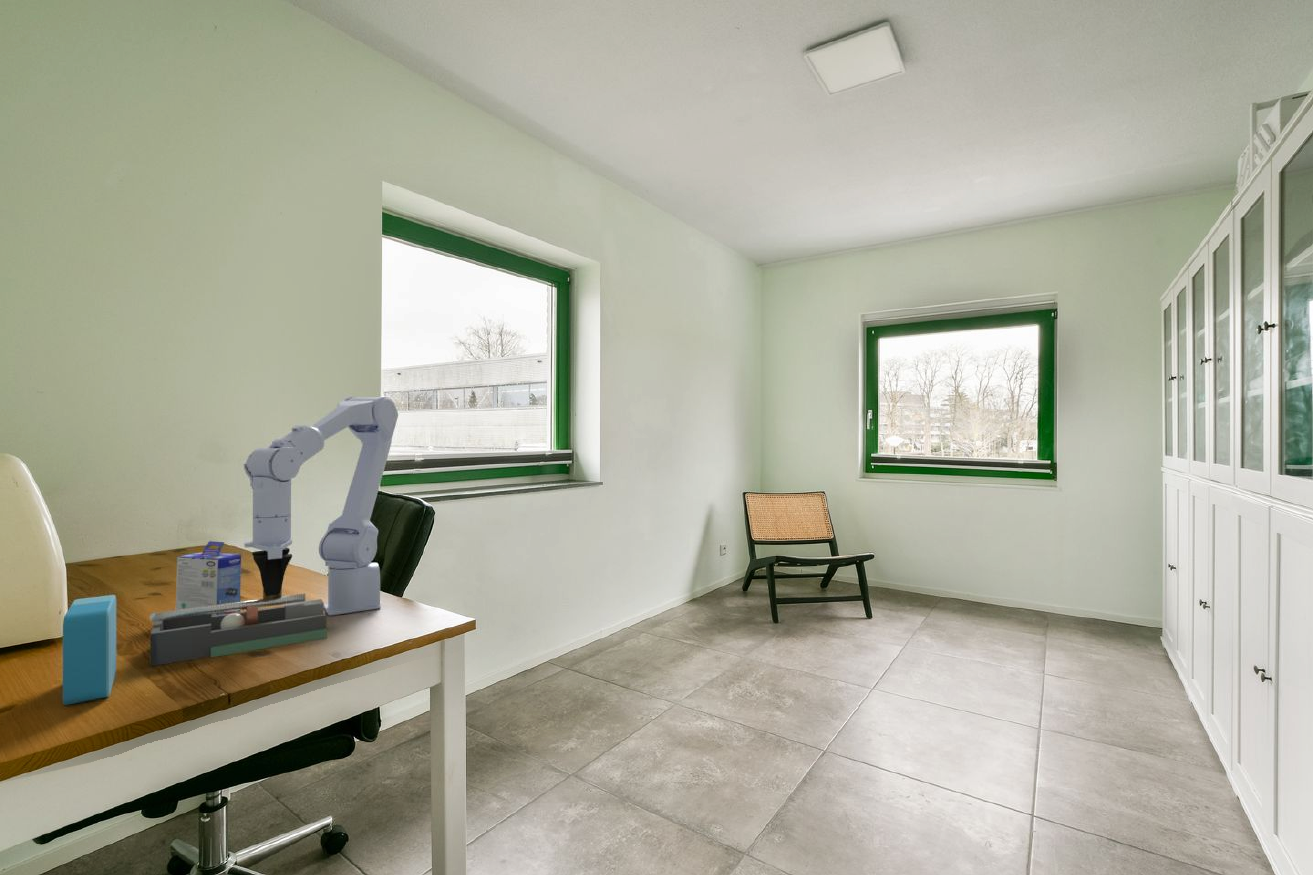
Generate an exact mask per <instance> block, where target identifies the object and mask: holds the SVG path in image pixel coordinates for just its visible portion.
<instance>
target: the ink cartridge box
mask: <svg viewBox="0 0 1313 875" xmlns="http://www.w3.org/2000/svg"><path fill="white" fill-rule="evenodd" d="M224 544H225V542H222V541H214V540H213V541H211V540H209V541H208V542H207V544H206V545H205V547H204V550H203V551H202V552H194V553H190V554H184V555H180V556H177V557H176V559H177V560H176V580H175V581H176V586H175V587H176V588H175V610H180V609H188V608H195V607H203V606H211V605H219V604H227V603H234V602H241V589H242V588H241V584H242V582H241V580H242V579H241V578H242V575H241V574H242V554H241V553H225V552H224V553H222V552H221V550H222V549H223V546H224ZM211 546H217V547H218V548H217V549H215V548H210V547H211ZM236 612H241V610H237V611H230V612H222V613H215V614H212V616H214V615H221V614H229V613H236Z"/></svg>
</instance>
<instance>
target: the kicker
mask: <svg viewBox="0 0 1313 875" xmlns="http://www.w3.org/2000/svg"><path fill="white" fill-rule="evenodd" d="M282 595H283V586H282V587H281V591H280V594H279V595H271V596H266V595H265V593H264V589H263V588H262V598H260V599H259V598H258V599H251V600H243V601H242V600H241V601H240V602H234V603H227V604H219V605H211V606H203V607H195V608H188V609H180V610H176V609H174V610H172V609H171V610H167V611H158V612H154V613H151V614H150V616H149V620H150V621H151V622H156V621H163V620H171V619H178V618H185V617H193V616H200V615H208V614H215V613H222V612H230V611H237V610H240V611H242V610H243V611H246V626H248V625H255V624H258V609H259V608H265V607H267V608H268V607H275V606H280V605H282V606H283V605H285V604H289V603H296V602H304V601H306V593H298V594H291V595H283V596H282Z"/></svg>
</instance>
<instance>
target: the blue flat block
mask: <svg viewBox="0 0 1313 875" xmlns="http://www.w3.org/2000/svg"><path fill="white" fill-rule="evenodd" d="M116 671H117V597H116V595H115V594H109V595H102V596H93V597H86V598H78V599H74V600H72V603H71V605H70V607H69V608H68V610H67V612H66V613H65V614H64V617H63V622H62V703H63V705H64V706H69V705H73V704H79V703H85V702H88V701H94V700H98V699H103V698H104V699H105V698H109V697H110V695H111V692H112V689H113V684H114V680H115V677H116V674H117V673H116Z"/></svg>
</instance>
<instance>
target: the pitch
mask: <svg viewBox="0 0 1313 875" xmlns="http://www.w3.org/2000/svg"><path fill="white" fill-rule="evenodd" d="M324 604H325V603H324V601H323V600H322V599H321V598H320V599H319V598H318V599H313V600H311V599H310V600H305V601H304V602H296V603H289V604H284V605H282V606H280V605H279V606H272V607H267V608H265V607H264V608H260V609H259V608H258V624H255V625H248V626H246V610H243V611H240V612H236V613H237V614H240V615H242V616H243V617H244V619H245V626H241V627H235V628H228V629H221V627H220V625H221V621H222V620H223V619H224V618H225V617H226V616H227V615H229V614H233V613H229V614H221V615H214V616H212V614H208V615H200V616H193V617H185V618H178V619H171V620H163V621H156V622H154V623H153V625H152V629H151V632H150V667H155V666H161V665H167V664H173V663H177V662H184V661H189V660H191V661H192V660H197V659H203V658H208V657H210V658H216V657H222V656H227V655H228V656H229V655H235V654H240V653H245V652H250V651H251V652H252V651H257V650H263V649H270V648H274V647H281V646H282V647H283V646H286V645H293V644H299V643H305V642H304V641H306V642H310V641H311V642H312V641H316V640H323V639H327V638H328V628H327V623H328V622H327V615H328V614H326V613H325V612H324V611H325V610H324V609H325V608H324Z"/></svg>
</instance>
